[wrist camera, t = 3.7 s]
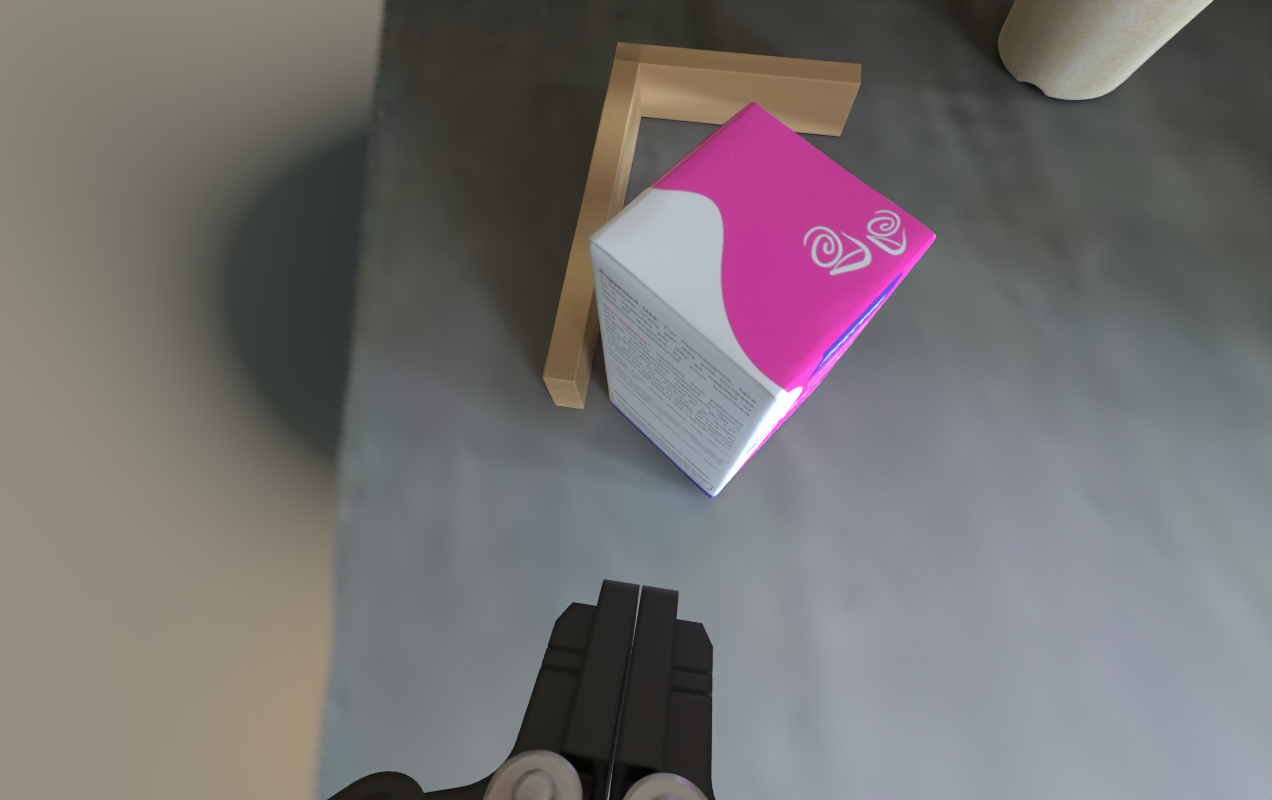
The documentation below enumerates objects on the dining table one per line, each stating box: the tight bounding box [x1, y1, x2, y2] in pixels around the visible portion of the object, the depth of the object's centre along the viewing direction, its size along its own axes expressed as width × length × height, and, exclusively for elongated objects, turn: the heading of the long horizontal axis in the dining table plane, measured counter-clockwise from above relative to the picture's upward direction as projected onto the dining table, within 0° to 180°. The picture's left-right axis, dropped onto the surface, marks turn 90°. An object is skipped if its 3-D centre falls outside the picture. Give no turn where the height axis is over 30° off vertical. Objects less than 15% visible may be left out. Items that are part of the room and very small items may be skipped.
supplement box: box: [588, 102, 936, 498], centre depth 18 cm, size 6×6×12 cm
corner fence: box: [542, 42, 861, 409], centre depth 25 cm, size 16×11×3 cm, turn 171°
